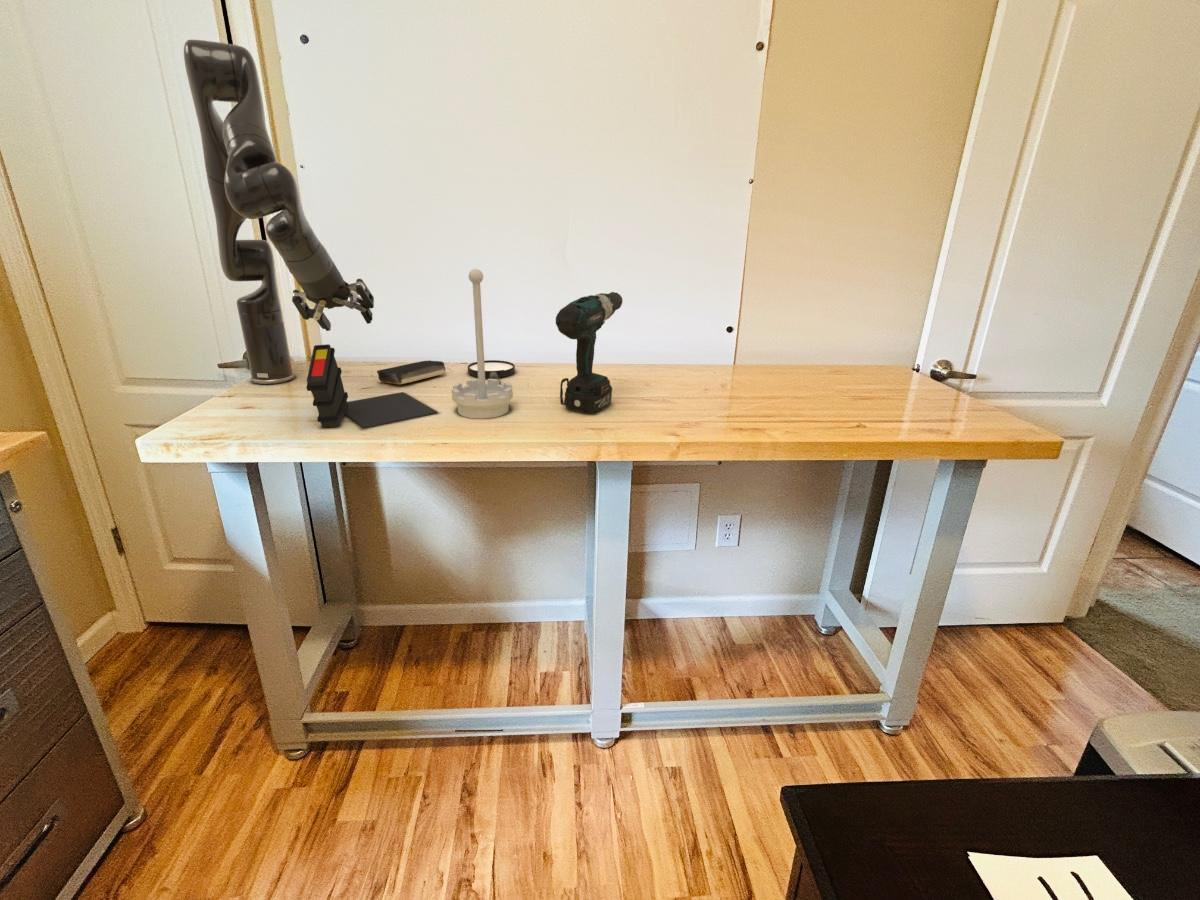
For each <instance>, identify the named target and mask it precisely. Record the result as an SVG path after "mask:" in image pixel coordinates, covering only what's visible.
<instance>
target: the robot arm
mask: <svg viewBox="0 0 1200 900" xmlns="http://www.w3.org/2000/svg"><path fill="white" fill-rule="evenodd" d="M183 61H184V67H185V73H186V76H187V81H188V85H189V89H190V95H191V97H192V98H191V99H192V101H193V106H194V110H195V114H196V118H197V122H198V123H197V124H198V127H199V133H200V138H201V144H202V153H203V159H204V160H203V161H204V167H205V168H204V169H205V174H206V180H207V185H208V189H209V190H208V191H209V195H210V200H211V204H212V208H213V213H214V217H215V225H216V235H217V244H218V246H217V247H218V255H219V261H220V266H221V270H222V272H223V274H224V276H225V277H226V278H227V279H228V280H229V281H231V282H240V283H241V282H243V283H244V282H261V284H260V285H259V287H258V288H257V289H256V290H254V291H252V292H249V293H248V294H246V295H243V296H239V297H238V299H237V300H236V307H237V313H238V317H239V323H240V327H241V332H242V337H243V342H244V346H245V352H246V355H245V356H244V359H245V364H246V368H247V369H248V371H250V377H251V378H250V379H251V382H252V383H254V384H259V385H272V384H280V383H286V382H289V381H291V380H293V379H294V378H295V375H294V372H293V367H292V360H291V354H290V349H289V345H288V344H289V343H288V338H287V337H288V336H287V332H286V326H285V321H284V316H283V311H282V305H281V300H280V299H281V298H280V295H279V288H278V282H277V281H278V280H277V274H276V264H275V258H274V253H273V249H272V246H271V245H270V243H269V241H267V240H264V239H237V238H238V235H239V232H240V229H241V228H242V225H243V224H244V223H245V221H246V220H247V219H249V220H258V219H262V218H264V217H267V216H270V215H273V214H275V215H274V216H272V217H271V218H270V219H269V220H268V222H267V223H266V226H265V233H266V236H267V237H268V239H269V240H270V242H271V243H272V245H273V246H274V248H275V249H276V251H277V252H278V253H279V255H280V256H281V258H282V259H283V262H284V264H285V266H286V268H287V269H288V271H289V273H290V274H291V275H292V277H293V278H294V279H295V281H296V282H297V284H298V285H299V287H300V289H302V291H300V290H298V289H293V290H292V297H291V302H292V303H293V305H294V307H295V308H296V310H297V311H298V313H299V314H300V316H301V318H302V319H303V320H305V321H308V320H310V319H313V320H314V321H316V322H317V324H318V325H319V326H320V328H321V329H323V330H325V331H326V332H329V331H331V330H332V329H331V328H332V323H331V321H330V320H329V318H328V317H327V316H326V314H325V313H324V309H328V310H330V309H334V308H342V307H345V308H346V307H347V308H349V309H350V310H354V309H355V310H357V311H359V312H360V314H361V317H362V318H363V319H364V321H365V322H366V324H367V325H368V324H372V321H373V312H372V309H374V308H375V297H374V295H373V294H372V292H371V291H370V289H369V287H368V286H367V285H366V282H364V280H363V279H362V278H356V281H355V282H353V283H348V282H347V281H345V279H344V278H343V276H342V273H341V272H340V269H338V267H337V266H336V264H335V262H334V261H333V259H332V257H331V256H330V254H329V252H328V250H327V249H326V248H325V246H324V245H323V244H322V242H321V241H320V240H319V237H318V236H317V235H316V233H315V232H314V230H313V228H312V226H311V225H310V223H309V221H308V220H307V217H306V215H305V212H304V208H303V205H302V201H301V196H300V192H299V191H300V190H299V187H298V184H297V181H296V178H295V176H294V174H293V173H292V171H291V170H290V169H288V167H287V166H285V165H283V163H280V162H278V161H277V155H276V154H275V151H274V147H273V144H272V141H271V138H270V135H269V132H268V129H267V122H266V114H265V107H264V100H263V94H262V88H261V83H260V77H259V72H258V69H257V66H256V62H255V59H254V58H253V56H252V53H251V52H250V51H249V50H248V49H247V48H245V47H244V46H241V45H238V44H233V43H226V42H220V41H219V42H218V41H211V40H203V39H187V40H186V41H185V43H184V44H183ZM214 102H222V103H234V104H235V105H234V106H233V108H231V110H230V111H229V112H228V113H227V115H226V116H225V118H224V120H223V119H222V118H221V116H220V114H219V112H218V111H217V108H216V107H215V104H214ZM276 213H277V214H276ZM307 300H308V301H309V302H312V303H314V307H313V308H310V306H309V305H308V303H307Z"/></svg>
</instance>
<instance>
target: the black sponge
mask: <svg viewBox="0 0 1200 900" xmlns="http://www.w3.org/2000/svg"><path fill="white" fill-rule="evenodd" d="M376 373H377V375H378V380H379V381H380V382H382V383H387V384H393V385H405V384H408V383H409V384H410V383H413V382H417V381H420V380H424V379H428V378H429V379H430V378H432V377H437V376H440V375H444V374H445V373H446V365H445V362H444V361H441V360H421V361H416V362H411V363H407V364H402V365H398V366H393V367H388V368H383V369H379V370H377V371H376Z"/></svg>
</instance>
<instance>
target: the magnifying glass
mask: <svg viewBox="0 0 1200 900" xmlns="http://www.w3.org/2000/svg"><path fill="white" fill-rule="evenodd" d="M484 365H485V379H498V380H499V385H502V382H501V379H502V378H505V377H507V376H511V375H514V373H516V365H515V364H514V363H513V362H510V361H506V360H496V359H494V360H493V359H492V360H491V359H490V360H489V359H488V360H484ZM467 373H468V374H469V375H470V376H471V377H476V378H478V368H477V361H475V362H472V363H469V364H468V365H467Z"/></svg>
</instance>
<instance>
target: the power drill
mask: <svg viewBox="0 0 1200 900" xmlns="http://www.w3.org/2000/svg"><path fill="white" fill-rule="evenodd" d="M622 294H623V293H622ZM622 305H623V297H622V295H621V294H620V293H618V292H615V291H611V292H609V293H603V292H601V293H597V294H590V295H587V296H585V295H584V296H581V297H579V298H577V299H575V300H573V301H570V302H569V303H568V304H566V305H565V306H564V307H563V308H561V309H560V310H559V311H558V313H556V316H555V325H556V327H557V330H558V332H559V333H560V334H562V335H563V336H565V337H566V338H567V339H570V340H576V351H575V362H576V372H577V373H576V375H575V376H574V377H572V378H571V379H569V378H568V377H565V378H564V377H562V379H561V381H560V382H559V383H558V384H559V385H560V387H559V388H560V389H559V403H560V405H561V406H565V409H567V410H568V411H569V410H570V411H573V412H576V413H577V412H578V413H582V414H596V413H598V412H600V411H602V410H603V409H604V408H606V407H607V406H609V405H610V404H611V403H612V398H613V397H612V395H613V387H612V385H611V381H610V379H609V377H608V376H606V375H603V374H600V373H596V372H593V366H594V365H593V364H594V358H595V345H596V340H597V332H598V331H599V330H600V329H602V327H603V326H604V324H605V323H606V321H607V320H609V319H610V318H611V317H612V316H613V315H614V314H615V311H617V310H619V309H620V308H621V307H622ZM565 382H566V388H565V392H564V391H563V390H564V389H563V385H564V383H565ZM563 395H564V396H563Z"/></svg>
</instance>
